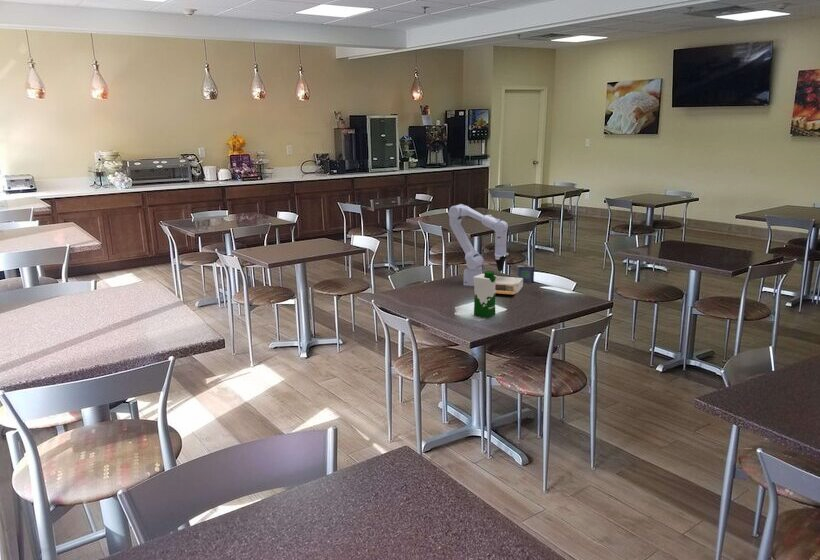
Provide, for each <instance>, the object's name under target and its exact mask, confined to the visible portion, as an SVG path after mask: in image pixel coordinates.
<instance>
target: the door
mask: <svg viewBox="0 0 820 560" xmlns="http://www.w3.org/2000/svg"><path fill="white" fill-rule="evenodd" d="M495 294H500V295H501V294H503V295H516V294H517V293H516V292H513V291H501V290H495Z"/></svg>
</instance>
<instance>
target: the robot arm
mask: <svg viewBox="0 0 820 560" xmlns="http://www.w3.org/2000/svg"><path fill="white" fill-rule="evenodd" d="M447 215H448V217H449V219H448V220H449V222H448V223H449V227H450V228H451V231H452V232H453V234H454V236H455V238H456V240H457V241H458V243H459V246H460V247H461V248H462V251H463V252H464V254H465V255H464V260H465V263H466V267H467V268H464V270H463V286H469V287H474V279H473V277H474V276H477V275H480V274H483V267H482V266H483V265H484V263H485V259H484V257H483V256H482V255H481V254H480V252H478V251H477V250H475V248H474V246H473V244H472V242H471V240H470V238H469V237H468V235H467V233H466V231H465V230H464V227H463V226H462V221H463V218H464V217H466V216H467V217H471V218H472V219H475V220H477V221H479V222H481V224H482V225H483V226H485V227H487V228H489V229H492V230H493V231H494V232H495V235H494V239H495V240H494V258H493V259H494V261H495V263H496V269H497V271H499V272H502V271H503V270H504V266H505V262H506V259H507V256H509V254H510V253H509V252H507V238H508V237H507V231H508V229H509V223H508V222H507V221H505V220H501V219H500V218H495V217H494V216H493V215H492V214H485V215H484V214H482V213H480V212H479V211H477V210H475V209H473V208H471V207H469V206H468V205H465V204H463V203H459V204H456V205H452V206H450V208H449V209H448V211H447Z"/></svg>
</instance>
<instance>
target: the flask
mask: <svg viewBox="0 0 820 560" xmlns="http://www.w3.org/2000/svg"><path fill="white" fill-rule="evenodd" d="M516 278H523V284H526V283H527V284H533V283H534V282H535V279H534V278H535V267H534V265H529V264H527V262H524V263H523V265H516Z"/></svg>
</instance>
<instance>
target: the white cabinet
mask: <svg viewBox="0 0 820 560" xmlns="http://www.w3.org/2000/svg"><path fill="white" fill-rule="evenodd" d="M496 276H497V280H496V286H495V290H501V291H513V292H516V294H518V293H519V292H520V291H521V290H522V288H523V287H524V283H523V278H517V277H511V276H498V275H496Z"/></svg>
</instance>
